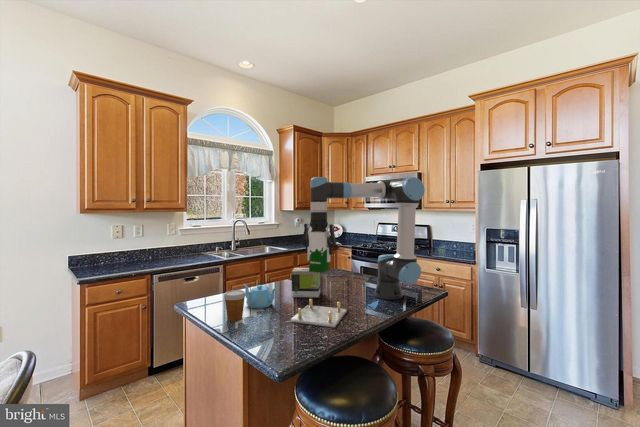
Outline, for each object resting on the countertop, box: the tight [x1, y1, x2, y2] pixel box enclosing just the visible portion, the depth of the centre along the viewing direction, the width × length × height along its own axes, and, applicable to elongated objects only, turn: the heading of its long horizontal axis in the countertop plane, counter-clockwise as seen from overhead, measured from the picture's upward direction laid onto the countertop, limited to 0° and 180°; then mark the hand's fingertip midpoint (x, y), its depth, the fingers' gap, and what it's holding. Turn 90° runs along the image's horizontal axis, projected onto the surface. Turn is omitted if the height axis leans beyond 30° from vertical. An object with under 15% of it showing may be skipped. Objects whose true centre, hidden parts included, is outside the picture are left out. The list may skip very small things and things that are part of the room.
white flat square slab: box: [290, 298, 347, 328], centre depth 145 cm, size 20×20×5 cm
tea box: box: [290, 267, 321, 298], centre depth 178 cm, size 15×10×15 cm, turn 84°
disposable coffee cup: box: [223, 289, 246, 322], centre depth 142 cm, size 10×10×12 cm
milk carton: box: [308, 230, 331, 274], centre depth 144 cm, size 9×9×20 cm
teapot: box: [243, 283, 278, 310], centre depth 160 cm, size 15×15×10 cm
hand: (318, 261), depth 144 cm, fingers closed on milk carton, 9 cm apart
